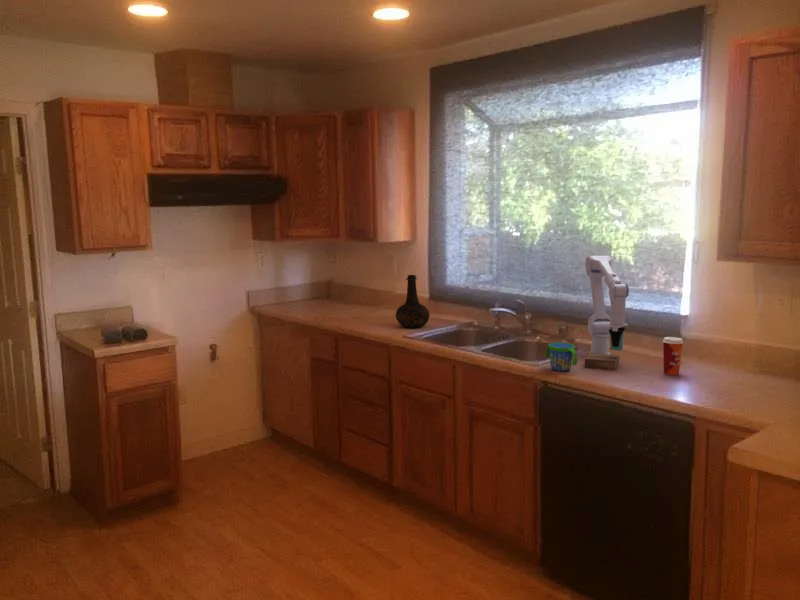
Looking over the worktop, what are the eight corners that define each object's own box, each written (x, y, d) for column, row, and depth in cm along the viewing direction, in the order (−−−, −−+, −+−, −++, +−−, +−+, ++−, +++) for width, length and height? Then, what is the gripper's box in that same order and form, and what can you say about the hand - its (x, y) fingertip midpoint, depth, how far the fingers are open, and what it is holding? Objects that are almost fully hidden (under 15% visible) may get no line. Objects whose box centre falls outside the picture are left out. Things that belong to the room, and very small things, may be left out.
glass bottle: (435, 325, 383) (435, 274, 379) (418, 331, 368) (418, 277, 364) (407, 322, 393) (407, 272, 388) (389, 327, 378) (389, 275, 374)
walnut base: (589, 362, 301) (590, 352, 300) (619, 364, 296) (619, 355, 295) (584, 368, 290) (585, 358, 289) (614, 371, 285) (615, 361, 284)
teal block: (611, 347, 295) (612, 333, 294) (622, 348, 293) (623, 334, 292) (610, 349, 291) (610, 335, 290) (621, 350, 289) (622, 336, 288)
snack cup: (584, 372, 281) (585, 347, 280) (563, 375, 277) (563, 350, 275) (558, 364, 295) (559, 340, 294) (538, 367, 291) (539, 342, 289)
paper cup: (675, 376, 274) (677, 341, 272) (657, 373, 280) (658, 338, 278) (685, 373, 279) (687, 338, 277) (667, 369, 285) (669, 335, 283)
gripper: (625, 316, 282) (624, 349, 284) (629, 310, 295) (628, 342, 297) (607, 315, 284) (606, 348, 286) (612, 309, 298) (611, 341, 300)
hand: (616, 345), depth 292 cm, fingers closed on teal block, 4 cm apart
